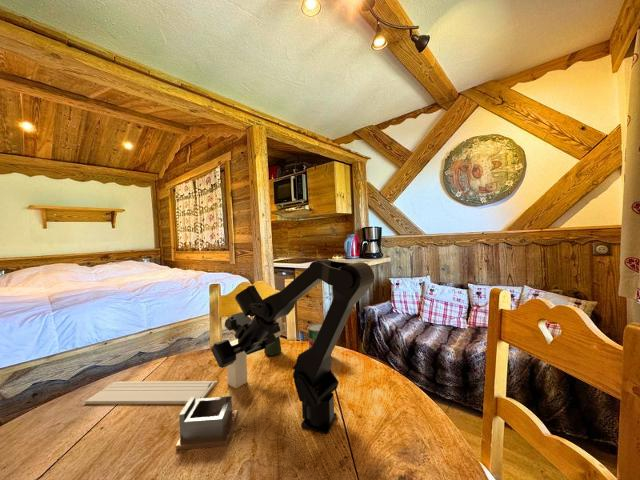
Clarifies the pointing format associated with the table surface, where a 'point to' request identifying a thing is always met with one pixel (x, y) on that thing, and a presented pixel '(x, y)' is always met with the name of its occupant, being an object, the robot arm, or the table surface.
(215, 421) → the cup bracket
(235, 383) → the cream rectangular block
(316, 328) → the canned tomato
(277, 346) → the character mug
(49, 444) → the table surface
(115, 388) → the baseboard molding
